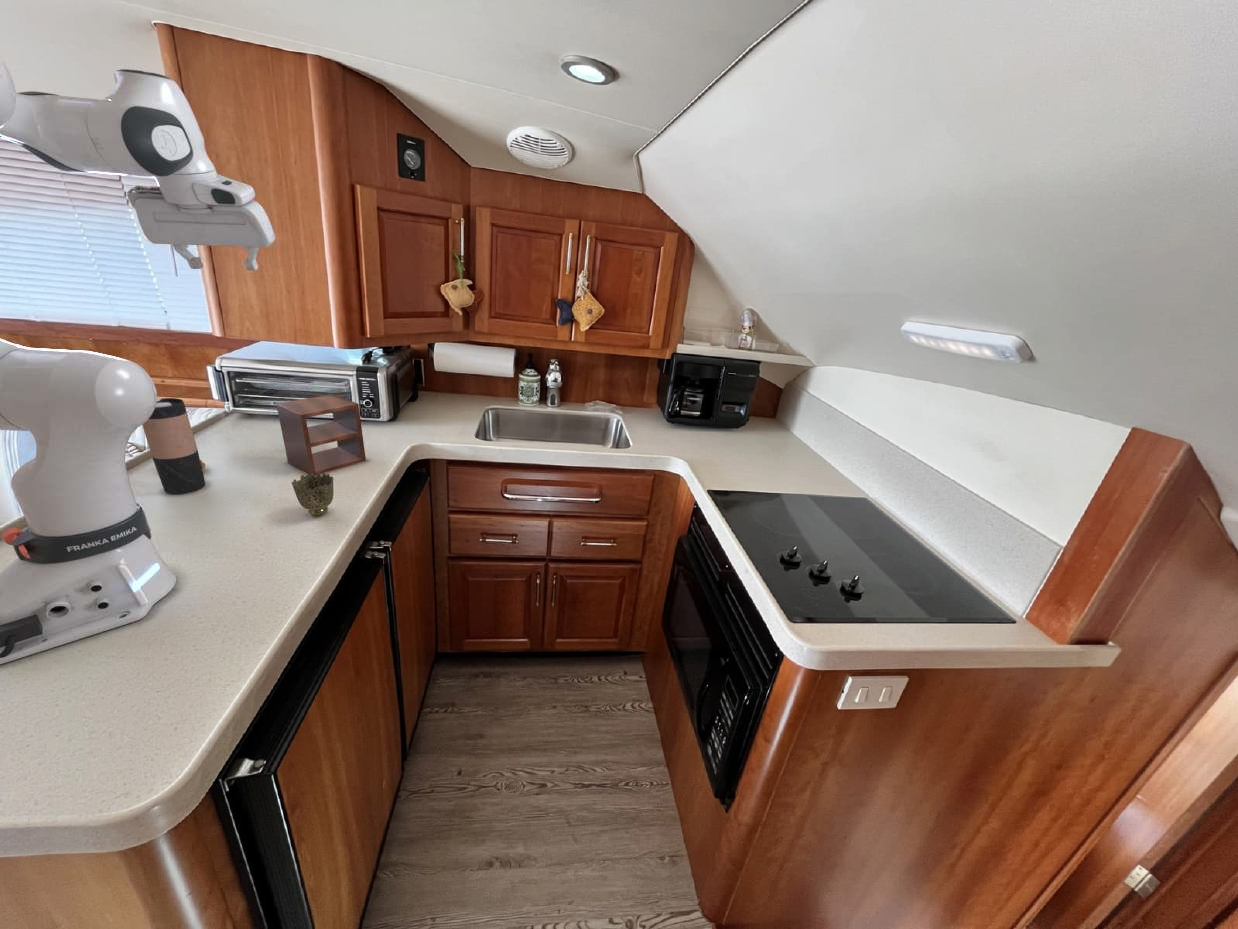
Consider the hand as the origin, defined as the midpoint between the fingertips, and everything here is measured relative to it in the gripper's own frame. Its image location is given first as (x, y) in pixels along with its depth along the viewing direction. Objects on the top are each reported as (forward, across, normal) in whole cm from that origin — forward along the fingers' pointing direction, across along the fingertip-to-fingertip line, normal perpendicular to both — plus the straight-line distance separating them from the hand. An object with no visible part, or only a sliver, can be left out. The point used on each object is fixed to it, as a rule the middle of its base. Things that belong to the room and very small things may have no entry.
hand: (225, 268), depth 95 cm
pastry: (+48, -26, -2) cm, 55 cm away
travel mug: (+46, -21, -11) cm, 52 cm away
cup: (+43, +11, -25) cm, 51 cm away
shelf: (+51, +4, +2) cm, 51 cm away
